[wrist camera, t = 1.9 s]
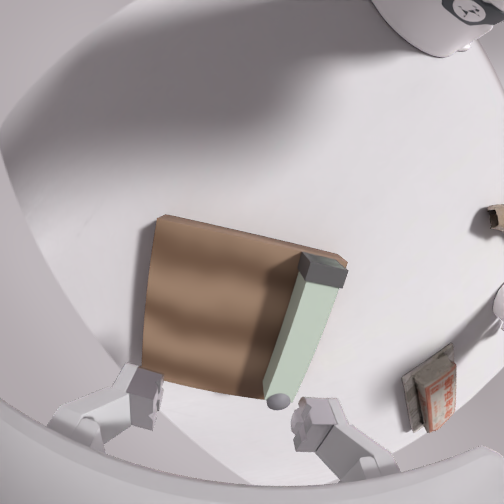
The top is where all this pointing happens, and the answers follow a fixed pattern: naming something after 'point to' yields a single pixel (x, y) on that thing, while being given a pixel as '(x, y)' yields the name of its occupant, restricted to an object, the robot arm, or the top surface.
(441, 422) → the packaged product
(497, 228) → the bone fragment
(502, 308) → the fire extinguisher
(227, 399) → the top surface
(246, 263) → the stool seat
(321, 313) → the hinged leg
